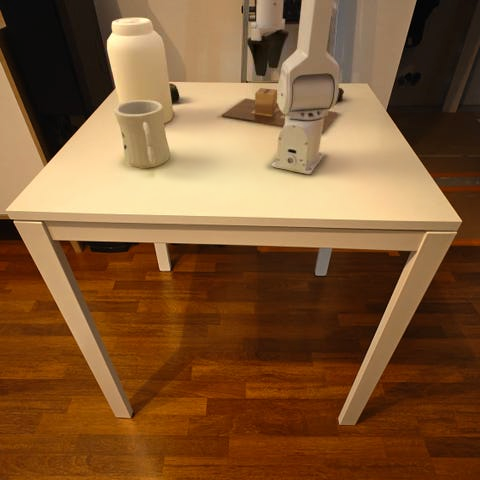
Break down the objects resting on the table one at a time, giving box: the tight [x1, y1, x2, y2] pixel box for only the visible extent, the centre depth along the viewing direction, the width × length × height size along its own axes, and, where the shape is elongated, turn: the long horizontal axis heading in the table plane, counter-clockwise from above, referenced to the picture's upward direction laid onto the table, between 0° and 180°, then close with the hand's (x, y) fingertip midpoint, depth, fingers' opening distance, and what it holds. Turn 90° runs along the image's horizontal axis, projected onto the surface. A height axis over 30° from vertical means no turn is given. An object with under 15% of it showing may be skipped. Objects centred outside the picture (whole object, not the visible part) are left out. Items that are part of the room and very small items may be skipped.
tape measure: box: [169, 82, 181, 102], centre depth 98 cm, size 7×7×4 cm
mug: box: [114, 100, 171, 169], centre depth 69 cm, size 12×9×10 cm
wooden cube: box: [254, 87, 278, 115], centre depth 90 cm, size 4×4×5 cm
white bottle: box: [106, 17, 174, 124], centre depth 83 cm, size 12×12×20 cm
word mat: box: [221, 98, 339, 133], centre depth 91 cm, size 14×26×1 cm, turn 64°
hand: (267, 71), depth 86 cm, fingers open, 7 cm apart
